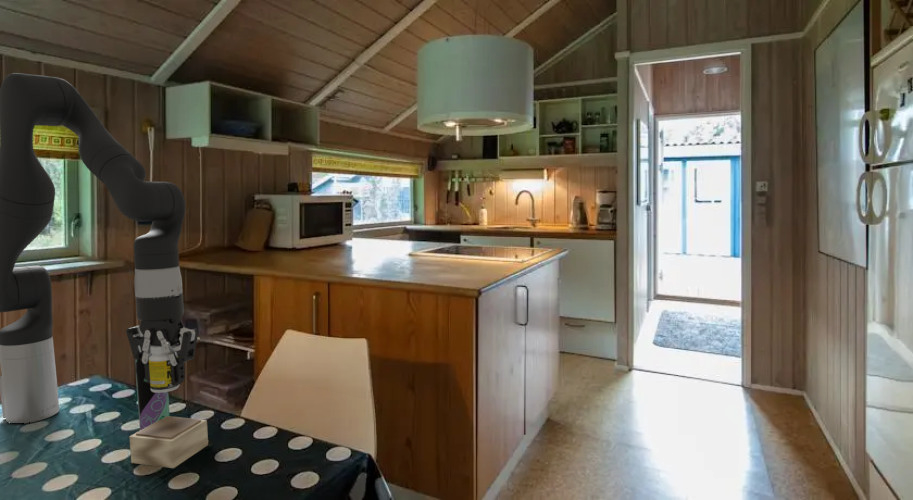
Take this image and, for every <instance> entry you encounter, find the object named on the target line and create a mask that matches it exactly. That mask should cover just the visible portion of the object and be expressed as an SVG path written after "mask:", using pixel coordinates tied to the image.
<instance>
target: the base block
mask: <svg viewBox="0 0 913 500" xmlns="http://www.w3.org/2000/svg"><path fill="white" fill-rule="evenodd" d="M208 435H209V434H208V420H207V419H199V418H191V417H189V418H188V417H180V416H171V415H170V416H166V417H165V418H163V419H161V420H159V421H157V422H155V423H153V424H152V425H150V426H148V427H146V428H144V429H142V430H140V429H139V431H136V432H135V433H133V434H131V435H130V436H128V437H129V450H130V462H131V464H138V465H139V464H140V465H146V466H155V467H162V468H169V469H175V468H176V467H178V466H179V465H181V464H182V463H184V462H185V461H186V460H188V459H189V458H191V457H192V456H194V455H195V454H197V453H198V452H200V451H201V450H203V449H204V448H206V447H208V446H209V437H208Z"/></svg>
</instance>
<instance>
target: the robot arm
mask: <svg viewBox="0 0 913 500" xmlns="http://www.w3.org/2000/svg"><path fill="white" fill-rule="evenodd" d="M36 126H43V127H44V126H46V127H47V126H48V127H60V126H62V127H64V128H66V129H68V130H70V131H72V132H73V133H74V134H75V135H77V136H78V153H79V157H80V159H81V162H82V163H83V164H84V166H85V167H86V168H87V169H88V170H89V171H90V172H91V174H93V175H94V176H95V177H96V178H97V179H98V180H99V181H100V182H101V183H102V184H103V185H105V187H106V188H107V190H108V192H109V195H110V196H111V197H112V200H113V202H114V204H115V206H116V208H117V209H118V210H119V212H120V213H121V214H122V215H124V216H125V217H126V218H128V219H129V220H132V221H135V222H141V223H142V222H151V226H150V230H149V231H148V232H147V233H146V234H145V233H144V234H142V235H140V236H137V237H136V238H135V239H134V241H133V260H134V278H133V279H134V281H133V284H134V295H135V298H134V299H135V307H136V308H135V309H136V318H137V320H138V321H140V323H139V325H136V326H133V327H129V328H127V329H126V331H125V332H126V337H127V339H128V343H129V346H130V351H131V353H132V356H133V357H132V358H133V359H134V361H135V360H138V359H139V360H141V361H142V362H143V363H144V366H145V377H146V380H147V382H148V383H150V371H149V357H150V356H151V355H152V354H151V350H150V346H151V345H152V346H162V347H163V349H164V352H165V354H166V355H168V357H169V359H170V362H171V364H172V366H170V367H171V382H172V385H179V384H181V385H182V383H184V382H185V381H184V380H185V378H186V372H185V371H186V370H185V363H186V362H189V361H191V360H193V359H194V358H195V354H196V349H197V342H198V336H199V330H198V329H197V328H192V329H190V328H188V327H185V325H184V323H183V320H182V318H183V316H184V313H185V309H184V294H183V293H184V292H183V279H182V274H181V268H180V260H179V259H180V258H179V257H180V256H179V254H180V253H179V241H180V237H181V234H182V227H183V222H184V219H185V213H186V200H185V196H184V193H183V192H182V190H181V188H179V187H178V185H177V184H175V183H173V182H168V181H147V180H146V181H145V178H146V169H145V167H144V166H143V164H142V163H141V162H140V160H138V159H137V158H136V157H135V156H134V155H133V154H132V153H131V152H129V150H127V148H126V147H124V146H123V145H122V144H121V143H120V142H119V141H117V140H116V138H114V137H113V136H112V134H111V133H110V132H109V131H108V129H107V128H106V127H105V126H104V124H103V122H101V120H100V119H99V118H98V116H97V114H96V113H95V111H93V109H92V108H91V107H90V105H89V104H88V103H87V101H86V100H85V99H84V97H83V96H82V95H81V94H80V92H79V90H77V89H76V88H75V86H73V85H72V84H71V83H70V82H69V81H67V80H66V79H64V78H60V77H55V76H49V75H41V74H33V73H32V74H30V73H19V72H18V73H17V72H13V73H9V74H7V75H6V76H5V78H4V79H3V80H2V83H1V85H0V313H9V312H13V311H14V312H16V311H20V310H26V312H25V314H23V315H22V317H20V318H19V319H17V320H16V321H14V322H12V323H10V324H8V325H6V326H4V327H2V328H1V329H0V372H1V376H0V400H1V411H2V419H3V418H6V419H5V420H6V421H7V422H10V423H24V424H30V423H35V422H39V421H43V420H45V419H48V418H50V417H53V416H54V415H56V414H57V413H59V412H60V404H59V389H58V380H57V369H56V368H57V367H56V357H55V347H54V339H53V336H54V335H53V324H54V323H53V321H54V319H53V318H54V316H53V290H52V289H53V288H52V281H51V277H50V273H49V272H48V270H47V269H46V268H45V267H44V266H42V265H26V266H24V265H23V266H18V267H17V266H15V265H16V262H17V261H18V259H19V257H20V255H21V254H22V253H23V251H24V250H25V249H26V248H27V247H28V246H29V245H30V244H31V243H32V242H33V241H34V240H35V239H36V238H38V236H39V235H40V234H41V233H42V232H43V231H44V230H45V228H47V226H48V225H49V224H50V222H51V220H52V216H53V213H54V205H55V200H56V199H55V198H56V188H55V184H54V182H53V180H52V178H51V177H50V175H49V174H48V172H47V171H46V169H45V167H44V166H43V165H42V163H41V161H39V158H38V157H37V155H36V153H35V151H34V140H33V134H34V128H35V127H36ZM139 345H140V348H141V352H140V351H139V348H138V346H139ZM173 345H175V348H171V346H173ZM175 352H176V353H177V356H178V358H177V357H176V354H175ZM179 386H180V385H179ZM6 421H5V422H6ZM7 422H6V423H7ZM29 422H30V423H29ZM10 423H9V424H10Z"/></svg>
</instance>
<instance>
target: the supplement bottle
mask: <svg viewBox="0 0 913 500" xmlns="http://www.w3.org/2000/svg"><path fill="white" fill-rule="evenodd" d="M171 348H175V345H173V346H171ZM150 350H151V354H152V355H151V356H150V357H149V371H150V387H151V391H152V392H155V393H162V392H168V393H169V392H172V391H175V390H177V389H178V388H179V387H180V384H179V385H172V382H171V367H170V366H172V364H171V362H170V359H169V357H168V355H166V354H165V352H164V349H163V347H162V346H152V345H151V346H150ZM175 354H176V357H177V358H178V356H177V353H176V352H175Z"/></svg>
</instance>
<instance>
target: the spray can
mask: <svg viewBox="0 0 913 500" xmlns="http://www.w3.org/2000/svg"><path fill="white" fill-rule="evenodd" d="M138 348H139V351H140V352H141V348H140V345H139V346H138ZM134 366H135V368H134V369H135V381H136V393H137V394H136V396H137V409H138V419H139V420H138V421H139V431H140V430H142V429H144V428H146V427H148V426H150V425H152V424H153V423H155V422H157V421H159V420H161V419H163V418H165V417H166V416H171V414H170V400H169V392H162V393H155V392H152V391H151V387H150V383H148V382H147V380H146V377H145V366H144V363H143V362H142V361H141V360H139V359H138V360H135V359H134Z"/></svg>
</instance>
